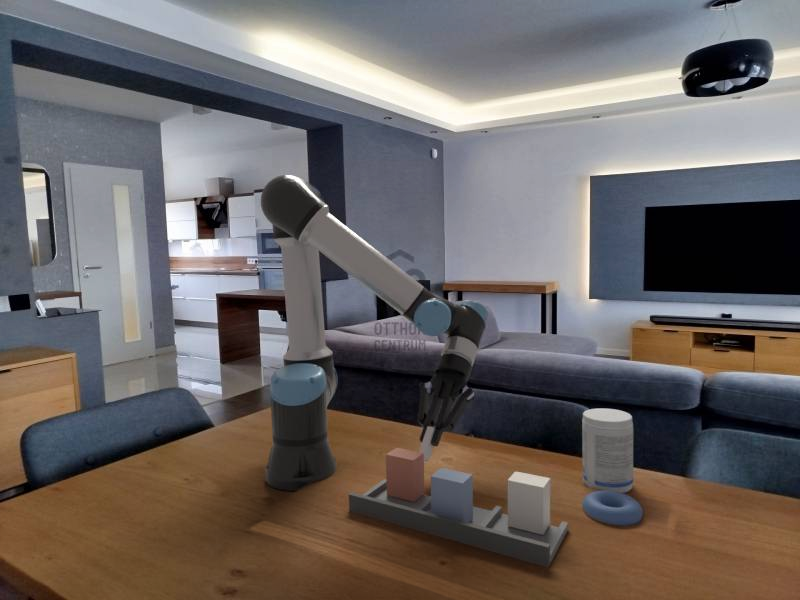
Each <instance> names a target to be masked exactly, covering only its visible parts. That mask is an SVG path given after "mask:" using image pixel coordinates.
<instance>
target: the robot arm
mask: <svg viewBox="0 0 800 600" xmlns="http://www.w3.org/2000/svg"><path fill="white" fill-rule="evenodd" d="M260 207H261V210H262V213H263V215H264V216H265V218H266V220H267V221H268V222H269V223H271V224H272V233H273V234H272V235H273V242H274V243H276V245H279V247H280V249H281V252H280V253H281V263H282V275H283V276H282V277H283V286H284V287H283V288H284V299H285V312H286V325H287V338H288V350H287V351H286V352H285V354H284V355H283V357H282V358H283V359H282V360H283V366H282V367H280V368H277V369H276V370H275V371H274V372H273V373H272V374H271V375H270V376H271V377H270V381H269V382H270V384H269V394H270V409H271V411H270V412H271V413H270V414H271V434H272V445H271V450H270V452H269V455H268V461H267V464H266V466H265V482H266V483H267V485H268V486H270V487H272V488H274V489H276V490H281V491H289V492H290V491H292V492H293V491H295V492H296V491H298V490H300V489H302V488H304V487H305V486H307V485H309V484H312V483H317V482H320V481H322V480H326V479H327V478H329V477H331V476H332V475H333V474H335V472H336V471H337V469H338V467H337V466H338V465H337V461H336V458H335V457H334V455H333V451H332V448H331V445H330V441H329V438H328V413H327V412H328V411H327V410H328V406H329V404H330V402H331V400H332V398H333V397H334V396H335V394H336V392H337V388H338V382H339V381H338V380H339V379H338V374H337V373H338V372H337V370H336V368H335V365H334V364H335V363H334V356H333V355H334V354H333V350H331V349H330V348H329V347H328V346H327V344H326V329H325V319H324V307H323V291H322V290H323V289H322V279H321V266H320V253H321V254H323V255H324V256H325V257H326V258H327V259H329V260H331V261H332V262H333V263H334V264H336V265H337V266H338V267H340V268H341V269H342V270H343V271H344V272H346V273H347V274H348V275H350V276H351V277H352V278H354V279H355V280H356V281H358V282H359V283H360V284H361V285H363V286H364V287H365V288H366V289H368V290H369V291H370V292H371V293H374V294H375V295H376V296H377V297H378V298H380V299H381V300H382V301H384V302H385V303H386V304H388V305H389V306H390V307H391V308H393V309H394V310H395V311H397V312H398V313H399V314H400V315H402V316H403V317H404V318H405V319H406V320H408V321H409V322H411V323H412V324H413V325H415V327H416V329H417V330H418V331H419V332H421V334H423V335H425V336H429V337H438V336H441V335H442V334H444V335H447V338H446V341H445V343H444V346H443V348H442V351H441V356H440V357H439V359H438V362H437V365H436V368H435V373H434V375H433V376H432V377H431V378H430V381H428V382H424V381H423V382H419V384H418V386H419V391H420V395H419V402H418V403H419V404H418V410H417V411H418V412H417V422H418V423H419V425H420V426H421V427H422V428H423V429H422V431H421V435H420V436H419V442H420V443H421V445H420V448H419V451H418V452H421V453H424V463H429V462H430V460H431V458H432V457H431V456H432V454H433V451H434V448H435V447H438V446H439V445H440V442H441V438H442V436H443V433H445V432H449V433H450V432H453V431H454V429H455V427H456V425H457V424H458V422H459V420H460V418H461V416H462V415H463V413H464V412H465V410H466V408H467V407H468V405H469V404H470V402H472V401H473V400H474V399H475V398H476V394H475V392H474V390H473V389H472V388H471V387H468V386H469V385H468V381H469V380H470V376H471V373H472V370H473V366H474V363H475V360H476V357H477V353H478V350H479V347H480V344H481V342H482V338H483V335H484V333H485V330H486V329H487V323H488V317H489V313H488V309H487V308H486V307H485V305H483V304H482V303H480V302H479V301H475V300H474V301H472V300H471V299H469V300H468V299H467V300H462V301H461V302H460V303H459V304H457V303H455V302H452V301H450V300H448V299H446V298H444V297H442V296H440V295H438V294H436V293H433V292H432V291H430V290H429V289H427V288H426V287H424V286H423V285H422V284H421V283H420V282H419V281H417V280H416V279H414V277H412V276H411V275H409V274H408V273H407V272H406V271H404V270H403V269H402V268H400V266H398V265H397V264H395V263H394V262H393V261H391V260H390V259H389V258H388V257H387V256H385V255H384V254H383V253H381V252H380V251H379V250H377V249H376V248H374V247H373V246H372V245H371V244H370V243H368V242H367V241H366V240H364V238H362V237H361V236H359V235H358V234H357V233H356V232H354V230H352V229H350V228H349V227H348V226H347V225H345V224H344V223H343V222H341V221H340V220H339V219H337V218H336V217H335V216H334V215H333V214H331V213H330V209H329V205H328V204H327V203H325V200H324V198H323V196H322V194H321V192H320V191H319V190H318V189H317V188H316V187H315V185H313V184H311V183H309V182H306V181H305V180H304V179H302V178H301V177H299V176H296V175H293V174H292V175H291V174H283V175H278V176H275V177H274V178H272V179H271V180H270V181H268V182H267V184H265V186H264V187H263V189H262V191H261V196H260ZM432 390H433V393H432V400H431V401H430V394H431V391H432ZM458 397H459V398H458ZM457 398H458V399H457ZM456 399H457V401H456ZM430 402H431V403H430Z"/></svg>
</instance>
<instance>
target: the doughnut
mask: <svg viewBox="0 0 800 600" xmlns="http://www.w3.org/2000/svg"><path fill="white" fill-rule="evenodd" d="M581 508H582V511H583V512H584V513H585V515H586V516H587V517H589V518H591V519H592V520H595V521H598V522H600V523H604V524H607V525H610V526H611V525H612V526H631V525H636V524H637V523H639V522H640V521H642V517H643V515H644V514H643V513H644V512H643V508H642V506H641V504H640V503H639V502H638V501H637V500H636V499H635V498H634V497H631V496H630V495H628V494H626V493H620V492H615V491H607V490H595V491H593V492H590V493H588V494H586V495H585V497H584V499H583V500H582V504H581Z"/></svg>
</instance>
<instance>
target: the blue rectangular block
mask: <svg viewBox="0 0 800 600" xmlns="http://www.w3.org/2000/svg"><path fill="white" fill-rule="evenodd" d="M473 478H474V477H473V473H467V472H462V471H458V470H453V469H449V468H444V467H440V468H439V469H437V470H436V471H435V472H434V473H433V474H432V475H430V496H431V513H433V514H437V515H441V516H445V517H449V518H452V519H456V520H460V521H464V522H468V523H470V522H471V521H472V520H473V506H474V496H473V494H474V490H473V489H474V488H473V486H474V482H473Z"/></svg>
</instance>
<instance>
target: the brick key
mask: <svg viewBox="0 0 800 600" xmlns="http://www.w3.org/2000/svg"><path fill="white" fill-rule="evenodd" d="M385 476H386V478H385V479H386V484H387V495H388V496H392V497H396V498H400V499H404V500H408V501H412V502H415V501H416V500H417V499H418V498H420V497H421V496H422V495H423V494H424V495H425V462H424V453H421V452H419V451H414V450H410V449H405V448H401V447H395V448H394V449H392V450H390V451H389V452H388V453H386V454H385Z"/></svg>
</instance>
